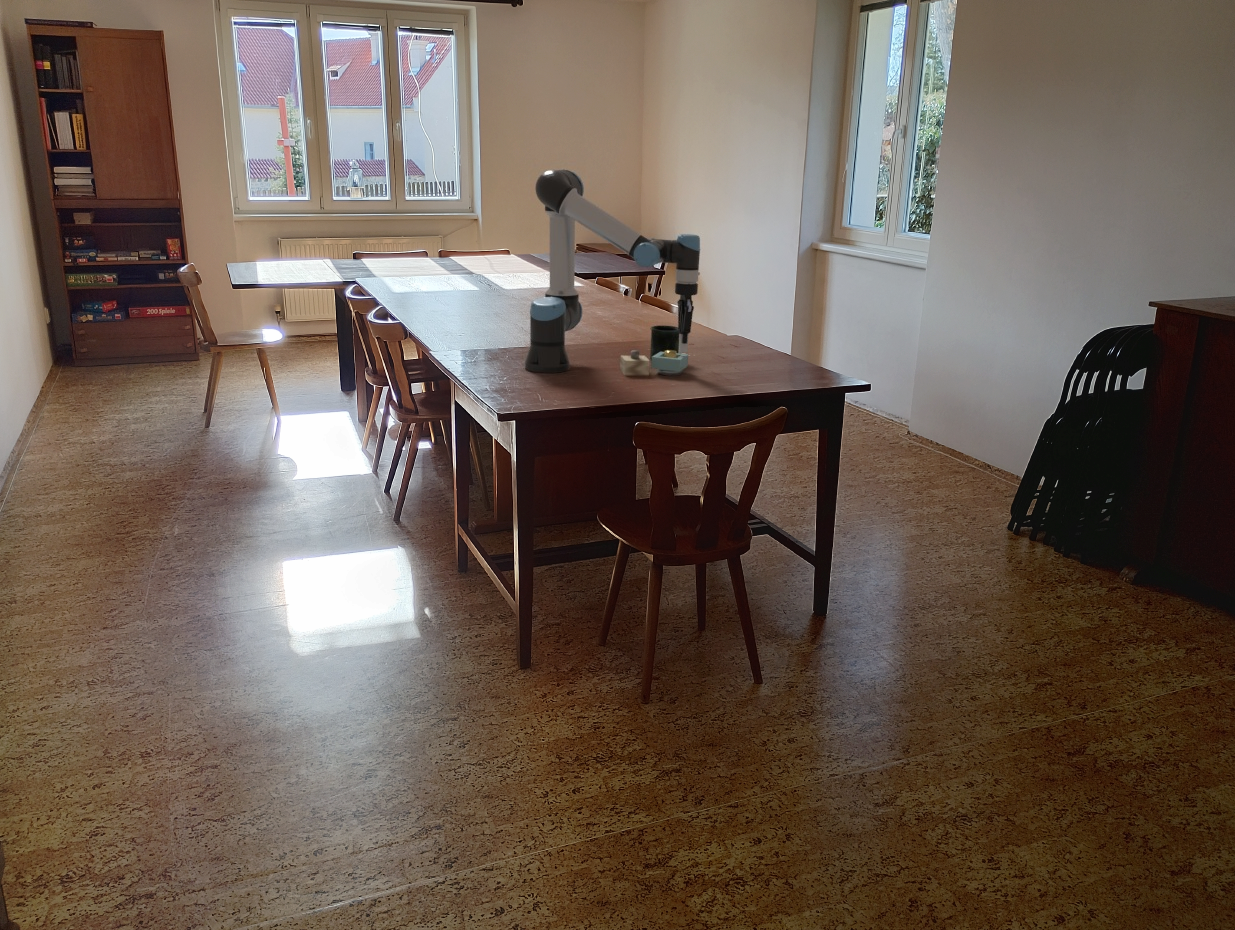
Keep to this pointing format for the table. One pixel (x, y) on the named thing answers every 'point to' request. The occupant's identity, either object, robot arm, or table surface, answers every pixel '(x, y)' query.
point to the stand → (634, 364)
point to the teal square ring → (669, 362)
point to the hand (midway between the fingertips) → (683, 352)
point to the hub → (666, 372)
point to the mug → (664, 339)
